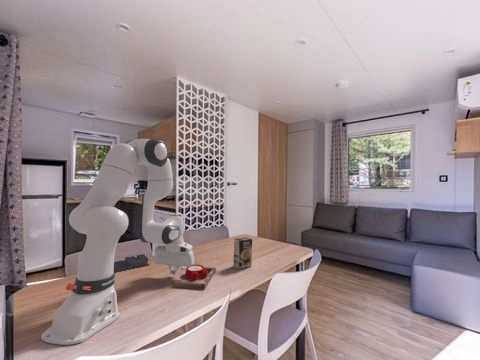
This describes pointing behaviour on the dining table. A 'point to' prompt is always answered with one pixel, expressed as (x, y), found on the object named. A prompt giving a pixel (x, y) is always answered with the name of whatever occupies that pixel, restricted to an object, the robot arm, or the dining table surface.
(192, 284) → the brown frame
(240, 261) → the coffee box
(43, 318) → the dining table surface
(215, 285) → the dining table surface
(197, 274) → the alarm clock
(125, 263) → the dark slate chunk
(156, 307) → the dining table surface
